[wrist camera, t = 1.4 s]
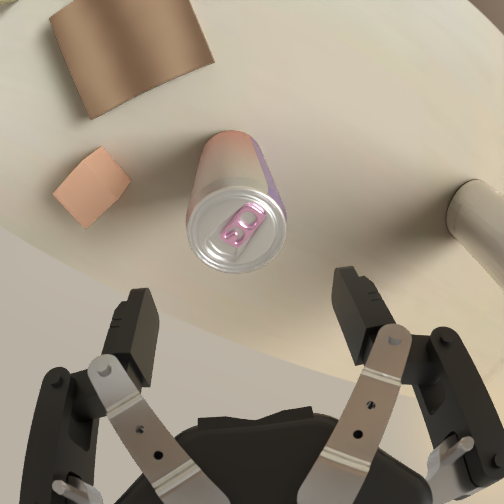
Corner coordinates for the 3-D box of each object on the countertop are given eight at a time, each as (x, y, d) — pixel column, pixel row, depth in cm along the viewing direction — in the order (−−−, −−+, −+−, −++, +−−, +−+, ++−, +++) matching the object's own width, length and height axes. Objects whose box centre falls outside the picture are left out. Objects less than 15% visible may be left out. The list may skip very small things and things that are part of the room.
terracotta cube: (101, 145, 28) (82, 160, 24) (131, 180, 30) (117, 199, 26) (72, 175, 29) (52, 194, 25) (101, 207, 31) (85, 229, 27)
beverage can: (273, 152, 30) (311, 223, 17) (237, 196, 32) (246, 291, 20) (225, 117, 27) (225, 162, 15) (189, 165, 30) (164, 245, 17)
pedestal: (172, -38, 18) (167, -48, 15) (214, 62, 24) (213, 61, 22) (63, 20, 19) (48, 18, 17) (102, 114, 26) (90, 120, 23)
